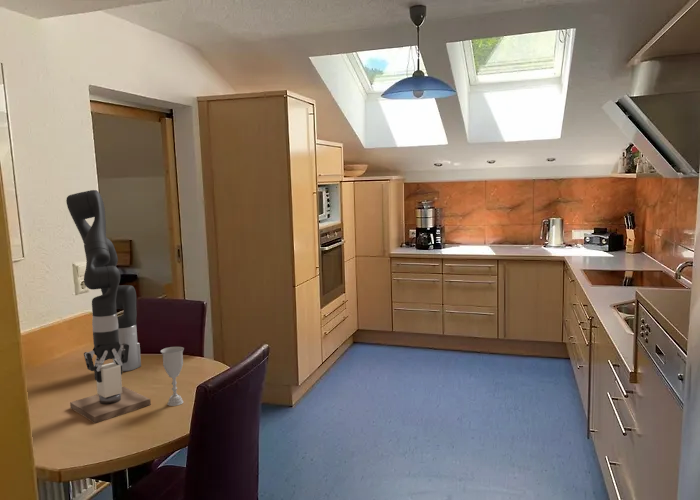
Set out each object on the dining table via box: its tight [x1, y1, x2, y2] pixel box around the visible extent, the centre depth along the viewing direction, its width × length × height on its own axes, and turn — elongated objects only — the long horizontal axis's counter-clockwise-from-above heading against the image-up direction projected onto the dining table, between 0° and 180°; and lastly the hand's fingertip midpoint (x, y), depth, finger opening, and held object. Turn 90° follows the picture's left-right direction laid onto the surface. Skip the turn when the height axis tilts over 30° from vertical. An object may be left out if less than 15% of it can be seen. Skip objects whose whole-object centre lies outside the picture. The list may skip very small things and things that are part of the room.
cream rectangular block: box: [95, 362, 123, 398], centre depth 175 cm, size 6×6×9 cm
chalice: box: [160, 346, 185, 407], centre depth 177 cm, size 7×7×18 cm
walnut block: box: [69, 386, 151, 424], centre depth 176 cm, size 18×18×2 cm
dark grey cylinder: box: [99, 393, 121, 404], centre depth 175 cm, size 6×6×10 cm
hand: (108, 379), depth 175 cm, fingers closed on cream rectangular block, 5 cm apart
